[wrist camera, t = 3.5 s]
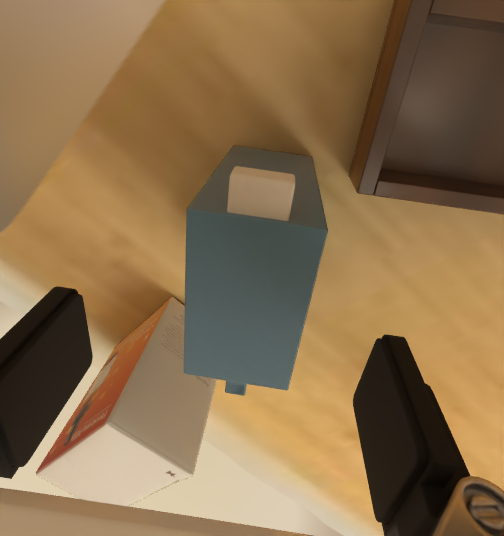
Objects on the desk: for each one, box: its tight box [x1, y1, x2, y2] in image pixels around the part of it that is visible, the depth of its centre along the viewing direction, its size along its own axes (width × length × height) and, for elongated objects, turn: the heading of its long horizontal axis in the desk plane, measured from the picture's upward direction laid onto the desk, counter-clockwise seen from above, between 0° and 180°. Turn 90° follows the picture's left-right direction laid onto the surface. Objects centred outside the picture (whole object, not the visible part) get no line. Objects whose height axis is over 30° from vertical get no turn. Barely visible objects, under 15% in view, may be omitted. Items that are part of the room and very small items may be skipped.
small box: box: [36, 297, 217, 506], centre depth 23 cm, size 8×6×10 cm
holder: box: [349, 0, 504, 214], centre depth 16 cm, size 11×8×3 cm
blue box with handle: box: [183, 145, 328, 396], centre depth 17 cm, size 4×11×10 cm, turn 173°
